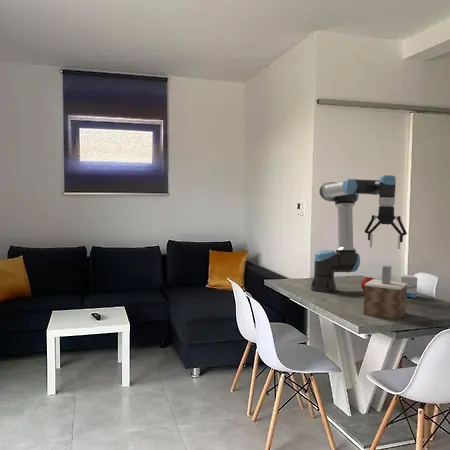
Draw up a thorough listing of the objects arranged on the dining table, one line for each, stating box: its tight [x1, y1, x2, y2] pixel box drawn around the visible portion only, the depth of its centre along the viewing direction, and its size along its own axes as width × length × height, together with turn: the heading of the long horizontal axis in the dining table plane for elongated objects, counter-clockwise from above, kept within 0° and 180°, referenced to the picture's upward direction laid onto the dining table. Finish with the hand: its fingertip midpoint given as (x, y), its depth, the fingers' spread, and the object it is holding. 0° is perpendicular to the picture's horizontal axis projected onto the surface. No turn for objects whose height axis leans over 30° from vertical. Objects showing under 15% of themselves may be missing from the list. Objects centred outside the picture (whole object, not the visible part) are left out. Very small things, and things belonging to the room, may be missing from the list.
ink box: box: [398, 274, 418, 299], centre depth 267 cm, size 8×8×12 cm
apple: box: [360, 277, 375, 293], centre depth 264 cm, size 9×8×11 cm
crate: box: [363, 285, 407, 320], centre depth 223 cm, size 16×16×14 cm
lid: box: [365, 265, 407, 290], centre depth 222 cm, size 16×16×9 cm
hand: (384, 247), depth 238 cm, fingers open, 13 cm apart
